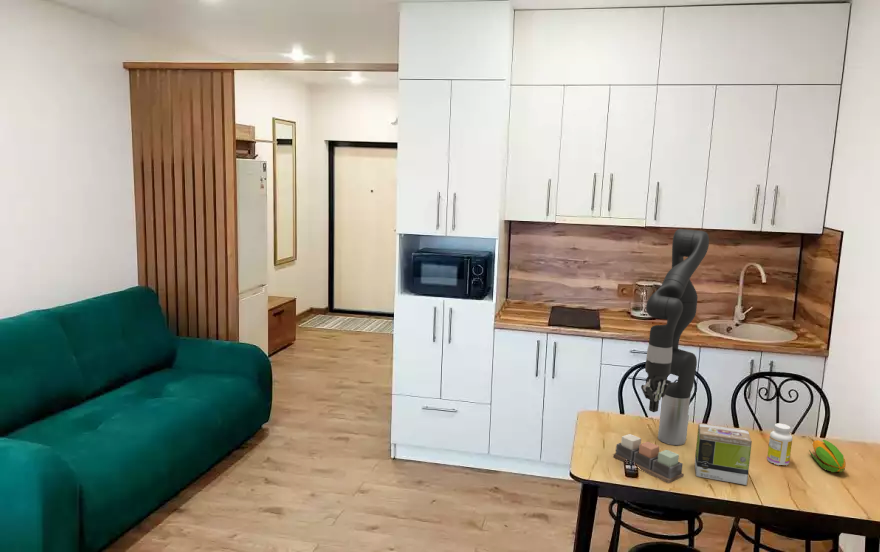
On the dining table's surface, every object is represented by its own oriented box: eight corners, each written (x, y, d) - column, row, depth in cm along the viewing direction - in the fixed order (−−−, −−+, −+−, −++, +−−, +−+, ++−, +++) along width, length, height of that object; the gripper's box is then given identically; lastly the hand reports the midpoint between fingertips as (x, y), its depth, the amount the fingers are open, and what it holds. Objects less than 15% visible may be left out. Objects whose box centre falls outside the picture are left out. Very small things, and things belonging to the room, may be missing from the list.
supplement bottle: (784, 458, 220) (789, 423, 218) (791, 467, 214) (797, 431, 212) (763, 456, 221) (768, 421, 219) (770, 465, 215) (775, 428, 213)
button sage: (665, 461, 207) (666, 449, 206) (677, 466, 203) (678, 454, 203) (657, 464, 204) (658, 452, 203) (669, 470, 201) (670, 458, 200)
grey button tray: (628, 451, 220) (629, 439, 220) (683, 476, 204) (684, 463, 203) (613, 457, 216) (614, 444, 215) (668, 483, 199) (670, 469, 198)
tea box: (743, 472, 209) (749, 429, 206) (746, 486, 200) (753, 441, 197) (693, 463, 214) (698, 421, 211) (694, 476, 204) (700, 432, 202)
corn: (829, 454, 208) (804, 429, 227) (824, 475, 209) (800, 449, 228) (854, 458, 207) (827, 432, 226) (848, 480, 208) (822, 453, 227)
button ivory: (628, 445, 218) (630, 433, 217) (639, 449, 214) (641, 438, 214) (620, 448, 215) (621, 436, 214) (631, 453, 212) (632, 441, 211)
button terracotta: (646, 452, 212) (647, 441, 212) (658, 458, 209) (659, 446, 208) (638, 456, 210) (639, 444, 209) (650, 461, 206) (651, 449, 205)
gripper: (661, 352, 210) (655, 403, 213) (636, 358, 202) (630, 411, 205) (681, 358, 205) (675, 410, 208) (656, 365, 197) (650, 419, 200)
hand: (653, 411), depth 206 cm, fingers closed
